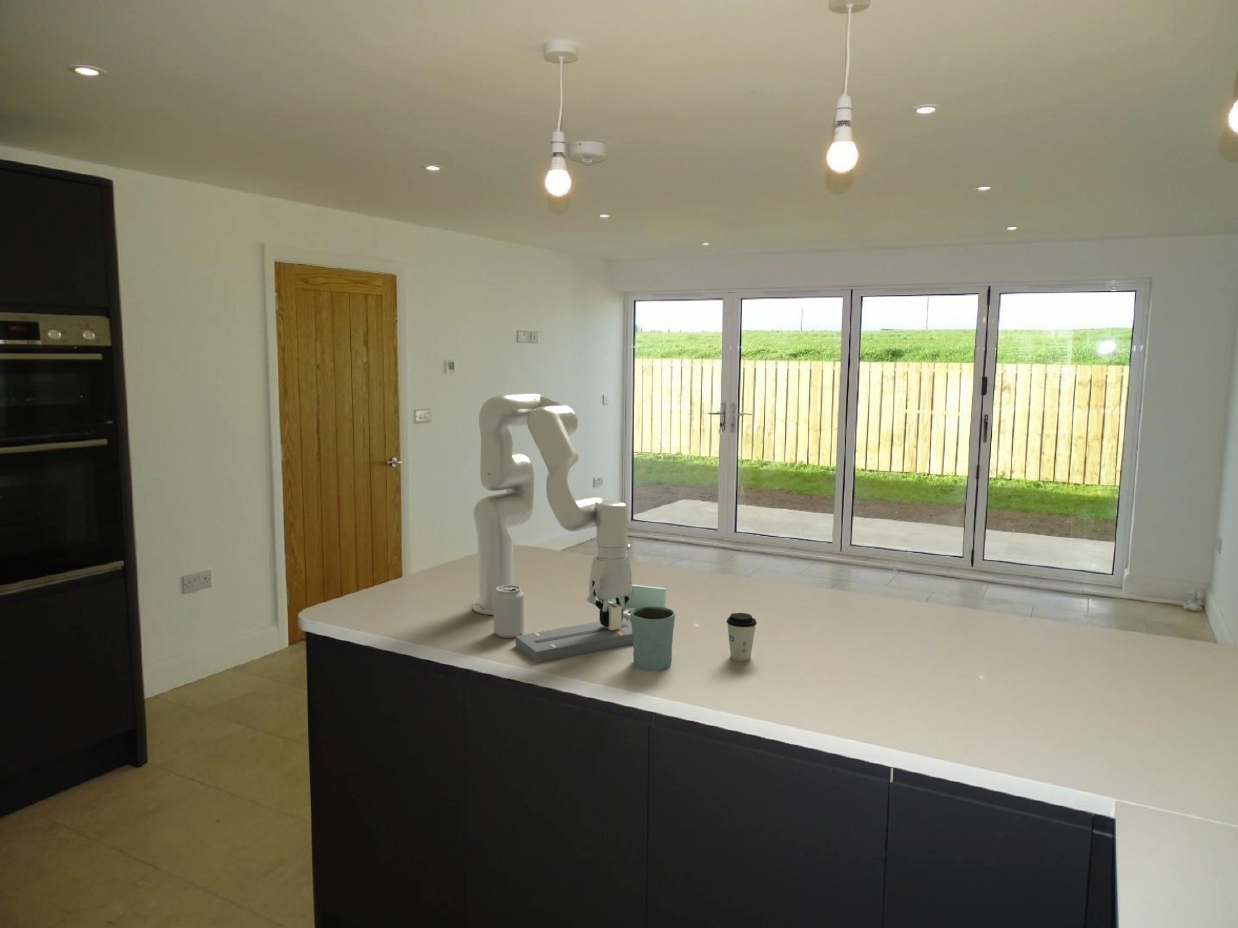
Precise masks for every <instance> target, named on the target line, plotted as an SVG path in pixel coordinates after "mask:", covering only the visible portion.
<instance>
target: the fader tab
mask: <svg viewBox="0 0 1238 928" xmlns="http://www.w3.org/2000/svg"><path fill="white" fill-rule="evenodd" d="M607 611H609V626H608V627H606V628H608V629H610V630H615V629H621V623H622V607H621V606H619V605H617V604H616V603H614V602H612V601H611V602H609V601H608V605H607ZM601 625H602V624H601ZM604 627H605V626H604Z"/></svg>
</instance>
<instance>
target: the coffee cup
mask: <svg viewBox="0 0 1238 928" xmlns="http://www.w3.org/2000/svg"><path fill="white" fill-rule="evenodd" d="M726 624H727V632H728V643H729V652H730V658H731V660H733V661H737V662H745V661H746V662H747V661H749V660H751V657H752V650H753V645H754V637H755V632H756V631H755V630H756V625H757V624H758V622H757V620H756V619H755V618H754V617H753V615H751V614H750V613H747V612H746V613H745V612H736V613H735V612H733V613H731V614H730V615H729V617H727V619H726Z"/></svg>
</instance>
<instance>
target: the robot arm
mask: <svg viewBox="0 0 1238 928" xmlns="http://www.w3.org/2000/svg"><path fill="white" fill-rule="evenodd" d="M578 424H579V421H578V417H577V414H576V413H575V411H574V410H573V409H572V408H571V407H570V406H569V405H567V404H564V403H562V402H560V401H557V400H555V399H552V398H549V397H547V396H546V395H545V396H544V395H542V394H539V393H533V392H526V393H524V392H523V393H522V392H521V393H503V394H498V395H495V396H492V397H489V398H488V399H486V400H485V402H484V403H483V404H482V406H481V407H480V410H479V414H478V425H479V426H478V427H479V432H480V456H479V457H480V462H479V463H480V467H479V469H480V470H479V471H480V472H479V474H480V475H479V476H480V483H481V485H482V487H483V488H484V489H485V490H487V491H491V492H497V491H504V490H506V492H504V493H497V494H493V495H487V496H485V497H483V498H481V499H480V500H478V501H477V503H476V504H475V506H474V509H473V518H474V519H473V520H474V523H475V524H474V525H475V528H476V535H477V536H476V537H477V557H478V559H477V560H478V563H477V564H478V565H477V566H478V567H477V568H478V569H477V570H478V600H477V601H475V602H474V603H473V604H472V608H473V611H475V612H476V613H478V614H482V615H490V616H494V601H493V595H494V593H495V592H496V588H497V587H499V586H503V585H515V584H514V582H515V581H514V544H513V540H512V538H511V536H510V534H509V532H508V529H510V528H512V527H513V528H514V527H516V526H521V525H524V524H525V523H527V522H528V521H529V520H530V519H531V517H532V515H533V510H534V498H535V497H534V494H535V493H534V492H535V471H534V466H533V463H532V461H531V459H530V458H529V457H528V456H527V455H525V454H523V453H519V452H513V451H514V450H513V448H514V447H513V445H514V444H513V443H514V440H513V437H512V434H511V432H510V430H509V428H508V427H514V426H527V429H528V430H529V432H530V435H531V437H532V439H533V441H534V443H535V446H536V448H537V449H538V452H539V453H540V455H541V457H542V461H544V462H543V463H544V464H545V466H546V469H547V476H546V487H545V488H546V498H547V502H548V505H549V507H550V509H551V511H552V513H553V515H554V517H555V518H556V520H557V522H558V524H560V526H561V528H563V529H564V530H565V531H569V532H579V531H583V530H585V529H591V528H594V527H595V528H596V547H595V548H596V551H595V552H596V554H595V555H596V556H593V557H592V562H591V566H590V571H589V581H588V582H589V583H588V584H589V586H588V587H589V588H588V592H589V593H588V596H587V599H586V601H587V602H588V603H589V604H592V605H594V606H595V607H596V608H598V609H599V622H600V623H601V624H602V625H603V626H605V627H608V626H609V611H607V605H608V602H609V599H611V598H615V603H616V604H617V605H619V606H621V607H622V619H623V608H625V604H626V603H627V602H628V600H629V599H630V598H632V597H633V596H634V595H635V592H634V590H633V588H632V584H633V575H632V574H633V573H632V565H631V564H632V563H631V561H630V557H629V555H628V551H631V550H632V546H631V544H628V506H627V504H626V503H625V502H622V501H619V500H608V499H605V498H602V497H599V496H587V497H584V498H583V497H582V498H578V499H577V498H576V499H575V498H574V496H573V494H572V492H571V490H570V486H569V484H568V475H569V472H570V470H571V468H572V467H573V466H575V464H577V462H578V460H579V453H578V452H577V450H576V448H575V445H574V444H573V441H572V440H571V437H570V436H572V435H573V434H575V433H576V430H577V429H578ZM596 598H597V599H596ZM621 624H622V623H621Z"/></svg>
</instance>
